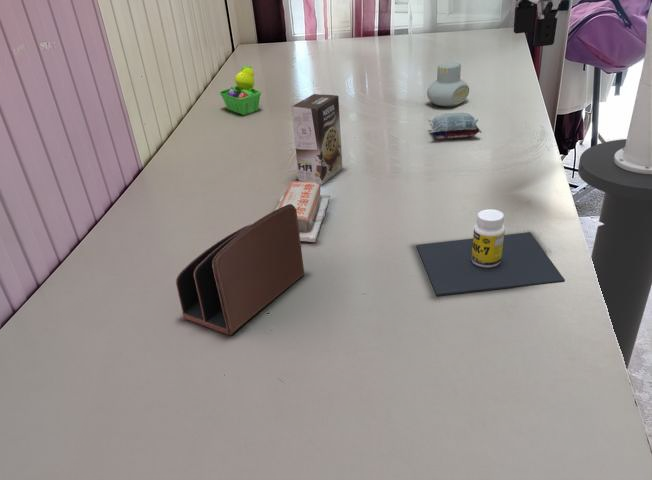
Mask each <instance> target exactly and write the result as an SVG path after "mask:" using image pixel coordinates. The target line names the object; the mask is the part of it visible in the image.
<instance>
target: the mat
mask: <svg viewBox="0 0 652 480" xmlns="http://www.w3.org/2000/svg"><path fill="white" fill-rule="evenodd" d="M472 246H473V238H466V239H465V238H464V239H457V240H448V241H447V240H446V241H438V242H429V243H422V244H421V243H420V244H416V249H417V252H418V254H419V257H420V259H421V261H422V264H423V266H424V268H425V269H424V270H425V271H426V274H427V276H428V278H429V281H430V283H431V286H432V288H433V291H434V293H435V295H436V297H441V296H450V295H451V296H453V295H461V294H468V293H469V294H470V293H478V292H486V291H487V292H488V291H496V290H507V289H514V288H522V287H523V288H524V287H532V286H542V285H550V284H551V285H552V284H560V283H565V282H566V279H565V278H564V276H563V275H562V273H561V272H560V271H559V270H558V268H557V267H556V265H555V264H554V263H553V261H552V260H551V259H550V257H549V255H548V254H547V253H546V252H545V250H544V249H543V248H542V246H541V245H540V243H539V242H538V240H537V239H536V238H535V237H534V235H533V234H532V233H531V231H529V232H518V233H510V234H504V240H503V249H502V257H501V262H500V263H499V264H498V265H497V266H494V267H489V268H485V267H480V266H477V265H475V264H474V263H473V262H472Z"/></svg>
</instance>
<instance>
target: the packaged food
mask: <svg viewBox="0 0 652 480" xmlns="http://www.w3.org/2000/svg"><path fill="white" fill-rule="evenodd" d="M427 121H428V122H429V123H428V124H429V126H431V129H432V130H431V131H430V132H429V134H430V135H432V137H433V136H434V138H436V139H438V140H439V139H440V140H441V139H443V140H444V139H458V138H459V139H460V138H461V139H462V138H468V137H472V136H476V135H477V134H478V133H480V134H482V130H480V128H479V127H478V125H477V122H479V118H476V117H475V116H473V115H472V114H470V113H468V112H467V113H466V112H451V113H450V112H449V113H443V114H440V115H436V116H434V117H433V118H431V119H429V118H428V120H427Z"/></svg>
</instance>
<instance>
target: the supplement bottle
mask: <svg viewBox="0 0 652 480" xmlns="http://www.w3.org/2000/svg"><path fill="white" fill-rule="evenodd" d="M504 217H505V214H504V213H503V212H502V211H501V210H498V209H490V208H488V209H484V210H481V211H479V212H478V213H477V218H476V223H475V225H474V226H473V234H472V235H473V236H472V239H473V246H472V262H473V263H474V264H475V265H477V266H480V267H485V268H489V267H494V266H497V265H498V264H499V263H500V262H501V257H502V249H503V240H504V235H505V232H506V229H505V224H504V219H505V218H504Z"/></svg>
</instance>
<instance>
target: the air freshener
mask: <svg viewBox="0 0 652 480" xmlns="http://www.w3.org/2000/svg"><path fill="white" fill-rule="evenodd" d="M461 69H462V64H461V62H459V61H457V60H446V61H441V62H440V63H438V64H437V72H436V80H434V81H433V82H432V83H431V84H430V85H428V88H427V90H426V96H427V99H428V100H429V101H430V102H431V103H432V104H434V105H436V106H439V107H449V108H450V107H456V106H459V104H461V103H463V102H464V101H465V100H466V99H467V98H468V96H469V93H470V86H469V85H468V83H467V82H466V81H464V80H463V79H461V71H462V70H461Z"/></svg>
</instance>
